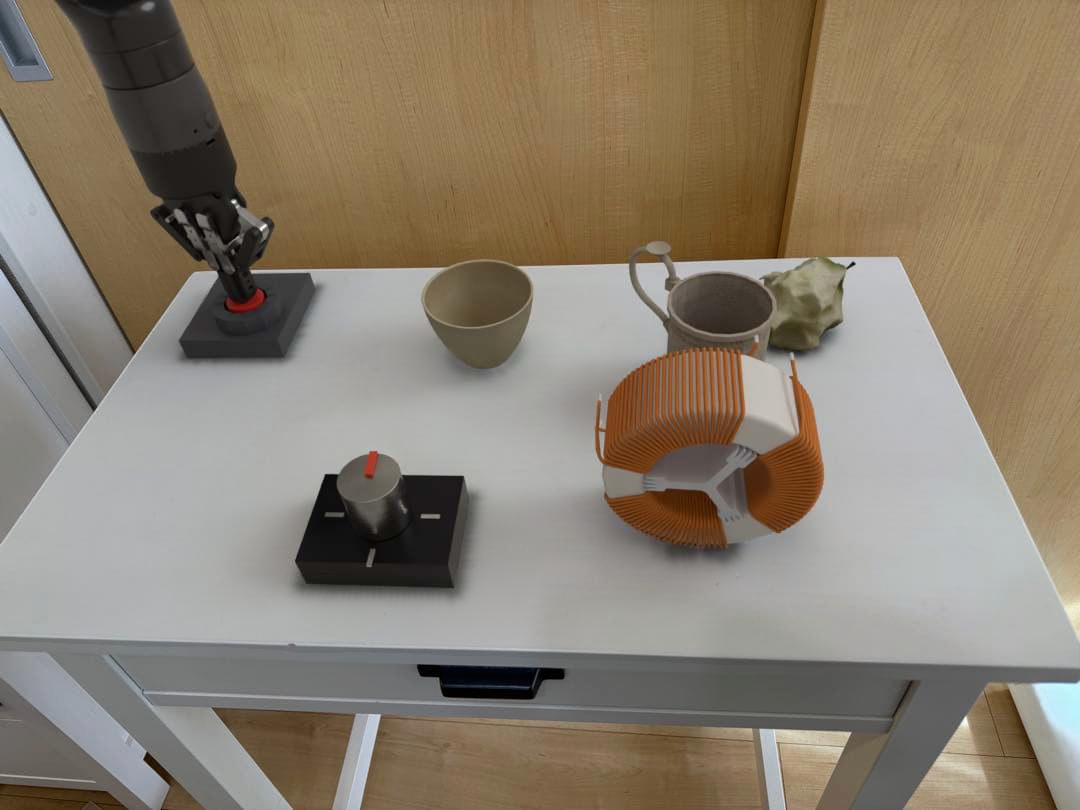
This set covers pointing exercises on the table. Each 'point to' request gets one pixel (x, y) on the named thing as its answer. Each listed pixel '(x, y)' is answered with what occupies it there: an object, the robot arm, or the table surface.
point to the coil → (710, 448)
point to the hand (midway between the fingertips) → (244, 297)
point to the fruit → (806, 302)
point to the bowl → (479, 310)
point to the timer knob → (375, 496)
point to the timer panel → (399, 561)
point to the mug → (710, 308)
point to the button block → (250, 319)
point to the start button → (249, 306)
